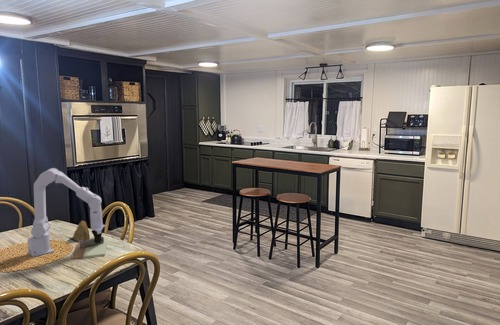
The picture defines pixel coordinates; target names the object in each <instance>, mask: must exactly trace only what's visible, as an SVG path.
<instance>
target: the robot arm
mask: <svg viewBox="0 0 500 325" xmlns="http://www.w3.org/2000/svg"><path fill="white" fill-rule="evenodd" d="M52 183H55V184H63V185H64V186H66V187H67V188H69V189H71V190H72V191H74V192H75V196H76V197H78V198H79V199H80V200H82V201H83V202H85V203H86V204H88V207H89V214H90V215H89V216H90V230H91V234H93V238H95V242H96V244H97V243H100V242H101V236H102V234H103V232H104V228H106V224H104V223H103V212H102V211H103V209H102V202H103V201H102V197H100V195H97V194H96V193H94V192H92V191H90V190H89V187H85V186H82V187H81V186H79V184H78V183H76V182H75V181H73V180H72V179H71V178H69V177H68V176H67V175H66V174H65V173H64V172H63V171H60V170H59V169H58V168H56V167H51V168H49V169H47V170H45V171H43V172H42V173H40V174H39V176H38V177H37V179H36V180H35V181H34V183H33V202H34V203H33V206H34V219H33V223H32V228H31V230H30V234H31V235H32V237H29V238H28V239H27V248H28V249H27V253H28V254H29V255H30V256H32V257H33V258H35V257H39V256H42V255H45V254H49V253H53V252H54V249H52V248H51V239H50V232H49V230H50V229H51V224H50V223H49V219H48V216H47V203H46V202H47V198H46V194H47V193H46V192H47V191H46V187H47V186H48V185H49V184H52Z"/></svg>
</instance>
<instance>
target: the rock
mask: <svg viewBox="0 0 500 325" xmlns="http://www.w3.org/2000/svg"><path fill="white" fill-rule="evenodd" d="M90 235H91V234H90V231H89V227H88V225H87V222H86V221H85V220H80V222H79V223H78V225H77V227H76V229H75V231H74V233H73V235H72V236H73V237H72V238H74V239H76V240H81V241H84V240H88V239H91V238H90V237H91V236H90Z"/></svg>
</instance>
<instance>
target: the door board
mask: <svg viewBox="0 0 500 325" xmlns="http://www.w3.org/2000/svg"><path fill="white" fill-rule="evenodd" d="M108 240H109V239H108V238H104V243H100V244H97V245H93V246H89V247H85V246H84V240H81V241H80V240H79V241H78V242H77V245H76V247H75V250H74V252H73V254H72V257H71V259H72V260H79V259H87V258H89V259H90V258H95V257H103V256H106V252H107V246H108Z"/></svg>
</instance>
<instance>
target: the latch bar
mask: <svg viewBox="0 0 500 325" xmlns="http://www.w3.org/2000/svg"><path fill="white" fill-rule="evenodd" d="M104 239H105V238H104V236H102V235H101V242H100V243H104ZM83 241H84V246H85V247H89V246H93V245H97V244H100V243H97V244H96V242H95V238H94V237H93V238H89V239H88V240H83Z"/></svg>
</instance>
